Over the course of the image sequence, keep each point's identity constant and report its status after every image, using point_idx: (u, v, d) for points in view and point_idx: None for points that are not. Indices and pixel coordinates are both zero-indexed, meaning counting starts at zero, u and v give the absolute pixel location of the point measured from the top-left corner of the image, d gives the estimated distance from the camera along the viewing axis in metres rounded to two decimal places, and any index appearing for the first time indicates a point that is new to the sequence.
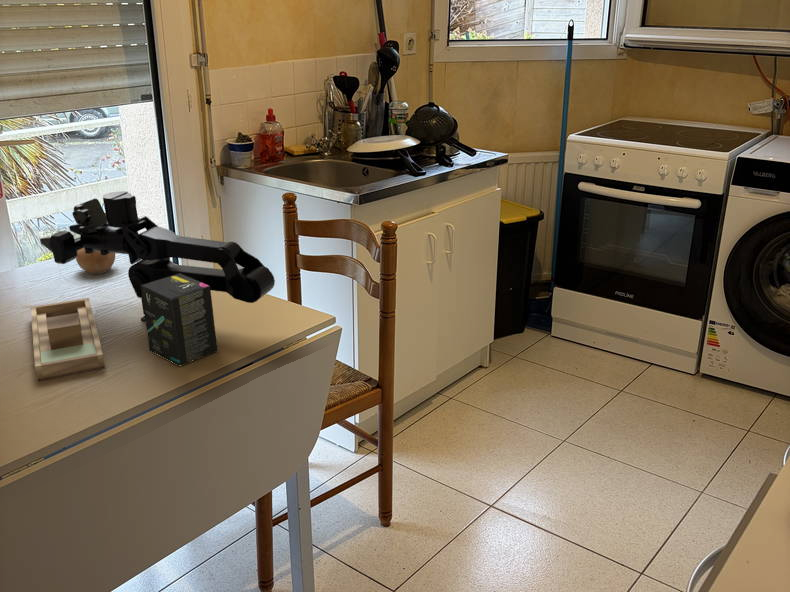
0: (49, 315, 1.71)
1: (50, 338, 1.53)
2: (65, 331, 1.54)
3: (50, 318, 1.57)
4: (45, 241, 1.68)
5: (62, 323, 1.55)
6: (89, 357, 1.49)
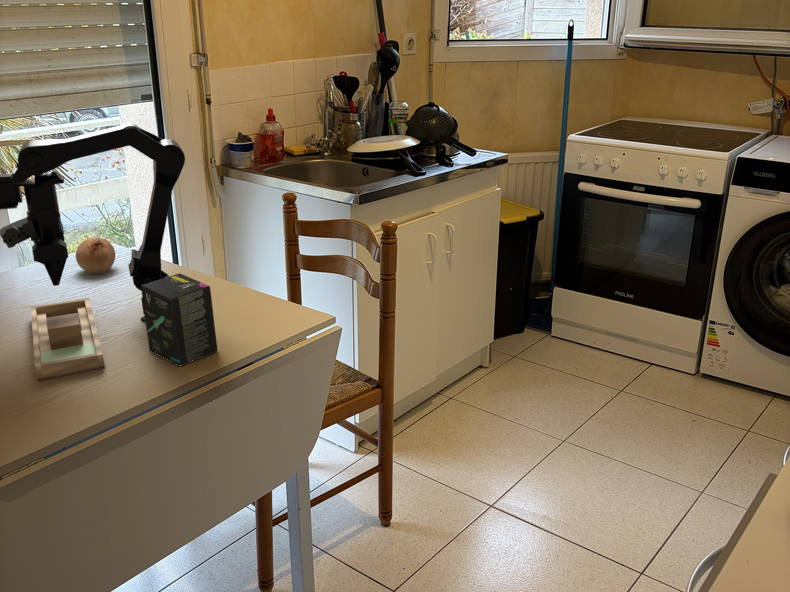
0: (49, 315, 1.71)
1: (50, 338, 1.53)
2: (65, 331, 1.54)
3: (50, 318, 1.57)
4: (53, 277, 1.56)
5: (62, 323, 1.55)
6: (89, 357, 1.49)
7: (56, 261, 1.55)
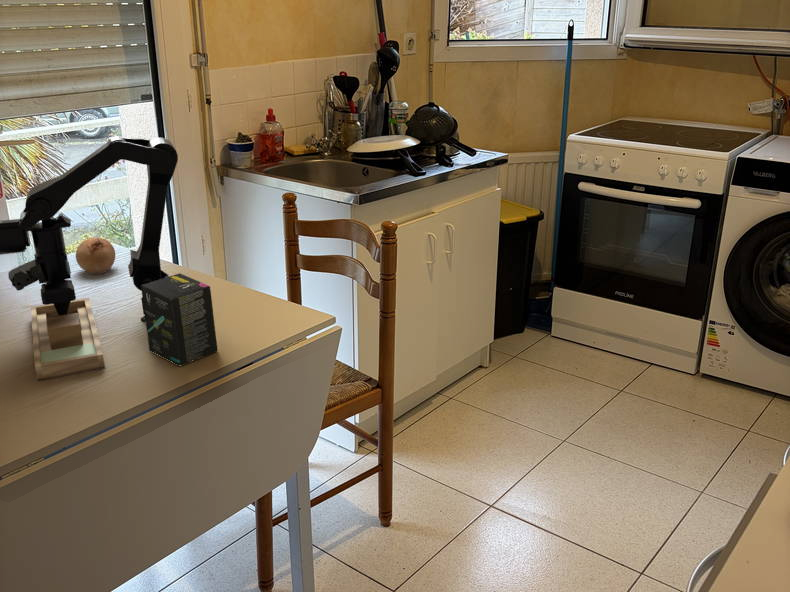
0: (49, 315, 1.71)
1: (50, 338, 1.53)
2: (65, 331, 1.54)
3: (50, 318, 1.57)
4: (60, 311, 1.63)
5: (62, 323, 1.55)
6: (89, 357, 1.49)
7: None
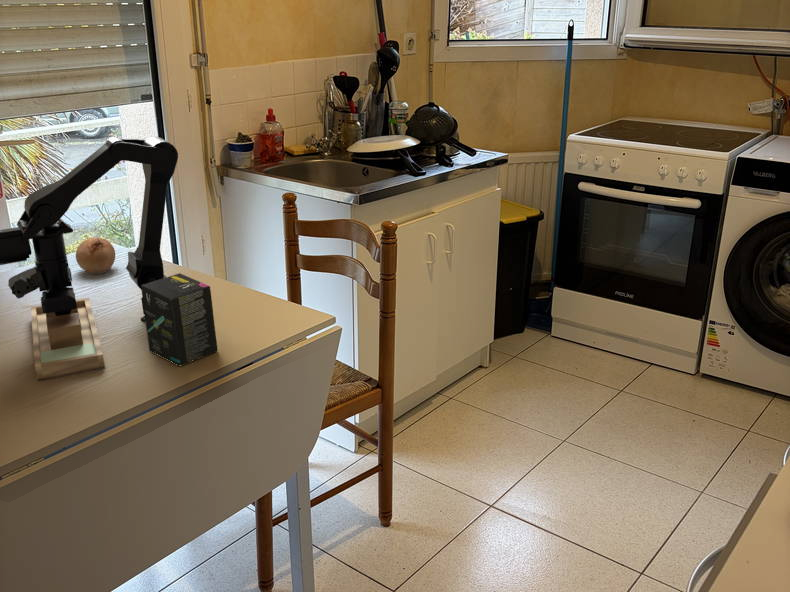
0: (49, 315, 1.71)
1: (50, 338, 1.53)
2: (65, 331, 1.54)
3: (50, 318, 1.57)
4: None
5: (62, 323, 1.55)
6: (89, 357, 1.49)
7: None
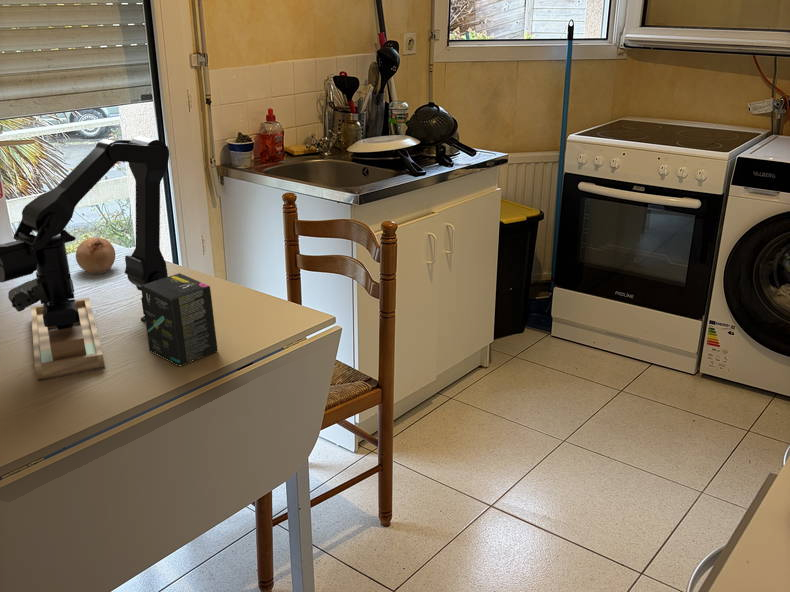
0: None
1: (53, 353, 1.48)
2: (68, 346, 1.48)
3: (52, 331, 1.52)
4: None
5: (65, 337, 1.50)
6: (89, 357, 1.49)
7: None
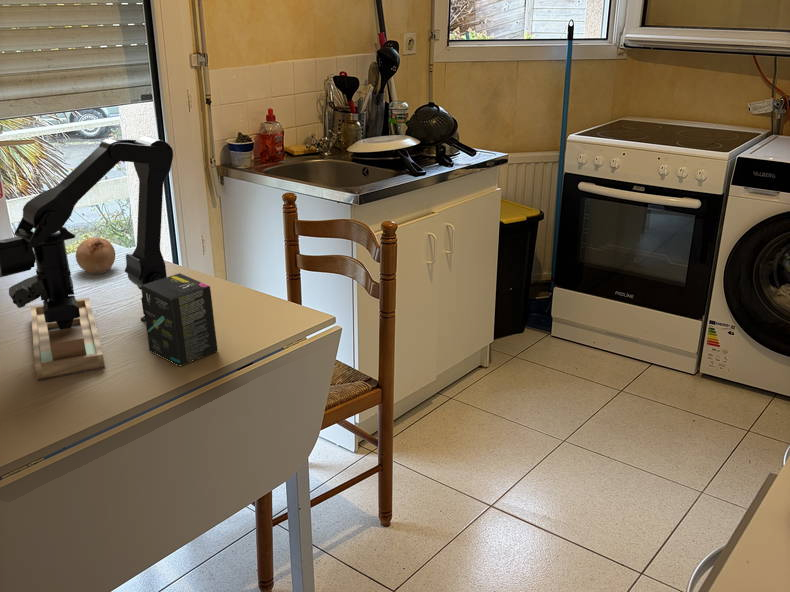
0: None
1: (53, 353, 1.48)
2: (68, 346, 1.48)
3: (52, 332, 1.52)
4: (63, 328, 1.56)
5: (65, 337, 1.49)
6: (89, 357, 1.49)
7: None
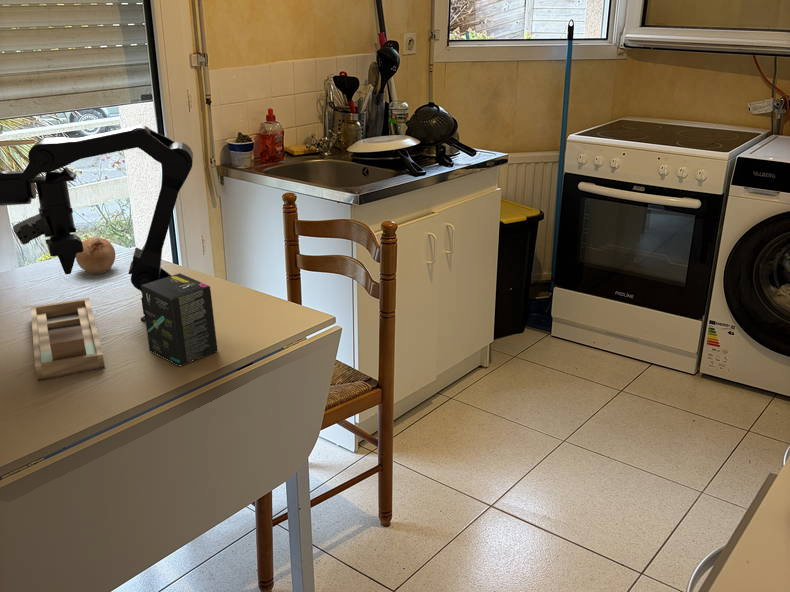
0: (49, 315, 1.71)
1: (53, 353, 1.48)
2: (68, 346, 1.48)
3: (52, 332, 1.52)
4: (65, 266, 1.62)
5: (65, 337, 1.49)
6: (89, 357, 1.49)
7: None
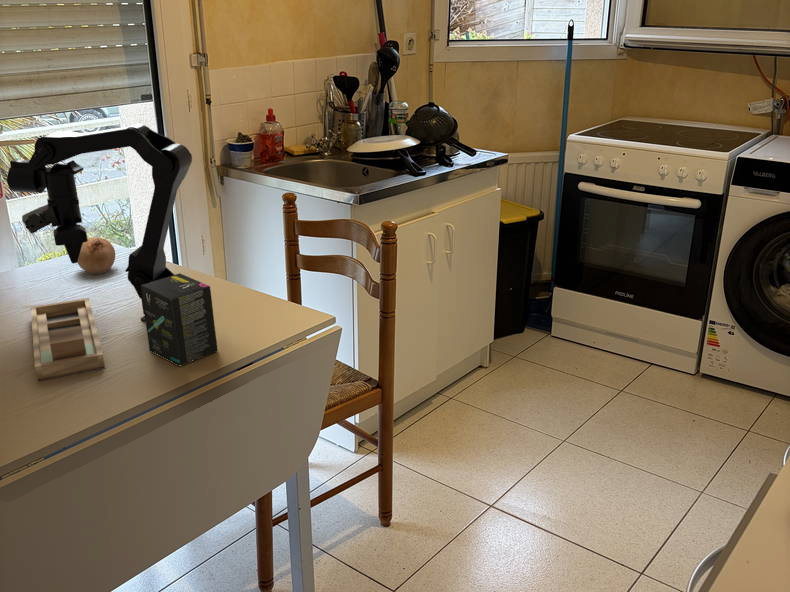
0: (49, 315, 1.71)
1: (53, 353, 1.48)
2: (68, 346, 1.48)
3: (52, 332, 1.52)
4: (71, 255, 1.68)
5: (65, 337, 1.49)
6: (89, 357, 1.49)
7: None
